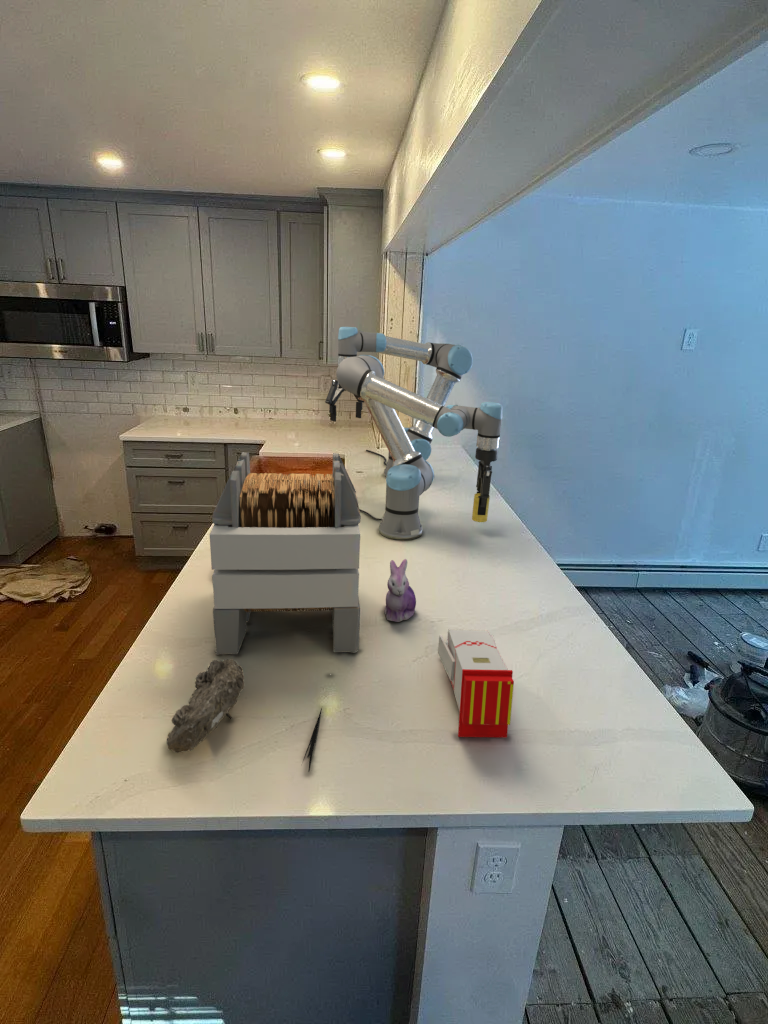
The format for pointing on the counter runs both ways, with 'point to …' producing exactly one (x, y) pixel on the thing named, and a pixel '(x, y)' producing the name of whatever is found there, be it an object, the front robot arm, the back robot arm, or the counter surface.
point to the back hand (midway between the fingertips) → (346, 419)
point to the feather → (313, 740)
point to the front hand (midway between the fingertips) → (480, 511)
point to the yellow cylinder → (475, 510)
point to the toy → (478, 682)
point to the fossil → (206, 705)
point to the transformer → (285, 551)
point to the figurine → (399, 594)
